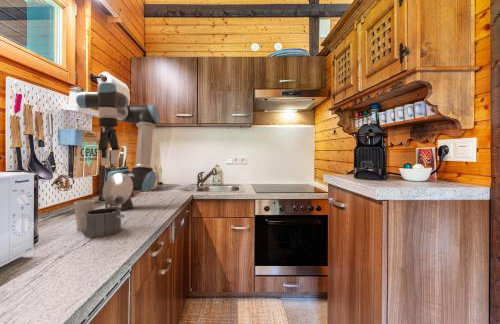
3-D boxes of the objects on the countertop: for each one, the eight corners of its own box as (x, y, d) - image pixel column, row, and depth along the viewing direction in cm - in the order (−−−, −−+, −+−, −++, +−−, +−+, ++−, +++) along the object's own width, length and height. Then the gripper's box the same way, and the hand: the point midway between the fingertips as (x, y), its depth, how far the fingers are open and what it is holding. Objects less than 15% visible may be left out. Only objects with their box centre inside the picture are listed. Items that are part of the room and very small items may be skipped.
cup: (86, 231, 118) (85, 203, 118) (70, 230, 120) (69, 203, 119) (99, 226, 126) (99, 200, 125) (84, 225, 127) (83, 199, 127)
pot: (98, 226, 126) (97, 205, 125) (135, 228, 122) (134, 206, 121) (70, 236, 111) (70, 212, 111) (112, 238, 107) (111, 213, 107)
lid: (99, 207, 123) (103, 208, 126) (128, 207, 120) (132, 208, 123) (106, 173, 128) (110, 174, 131) (134, 173, 125) (138, 174, 128)
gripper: (108, 120, 137) (110, 163, 138) (88, 114, 113) (90, 166, 114) (124, 120, 139) (126, 162, 140) (108, 114, 114) (110, 166, 115)
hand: (110, 164), depth 127 cm, fingers open, 13 cm apart
